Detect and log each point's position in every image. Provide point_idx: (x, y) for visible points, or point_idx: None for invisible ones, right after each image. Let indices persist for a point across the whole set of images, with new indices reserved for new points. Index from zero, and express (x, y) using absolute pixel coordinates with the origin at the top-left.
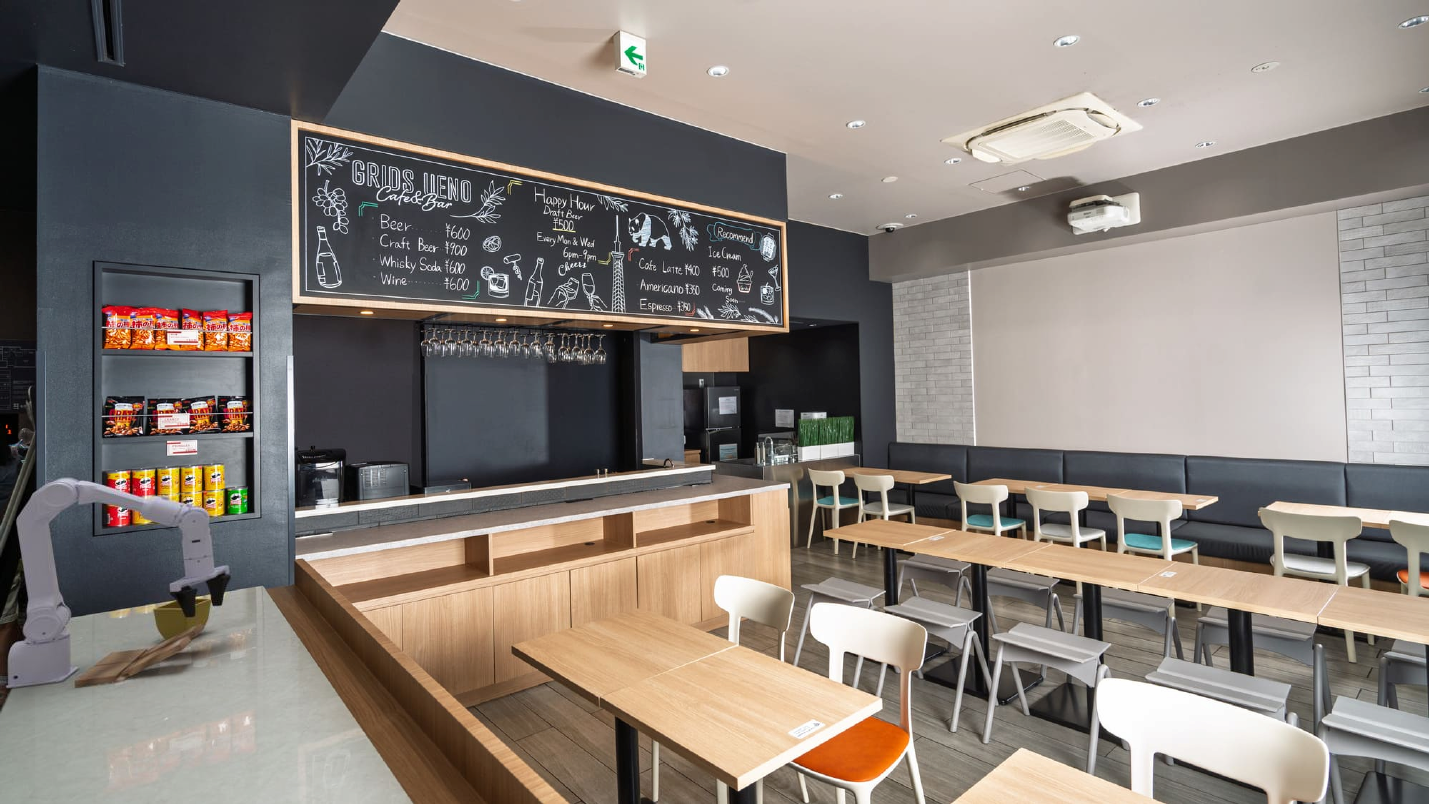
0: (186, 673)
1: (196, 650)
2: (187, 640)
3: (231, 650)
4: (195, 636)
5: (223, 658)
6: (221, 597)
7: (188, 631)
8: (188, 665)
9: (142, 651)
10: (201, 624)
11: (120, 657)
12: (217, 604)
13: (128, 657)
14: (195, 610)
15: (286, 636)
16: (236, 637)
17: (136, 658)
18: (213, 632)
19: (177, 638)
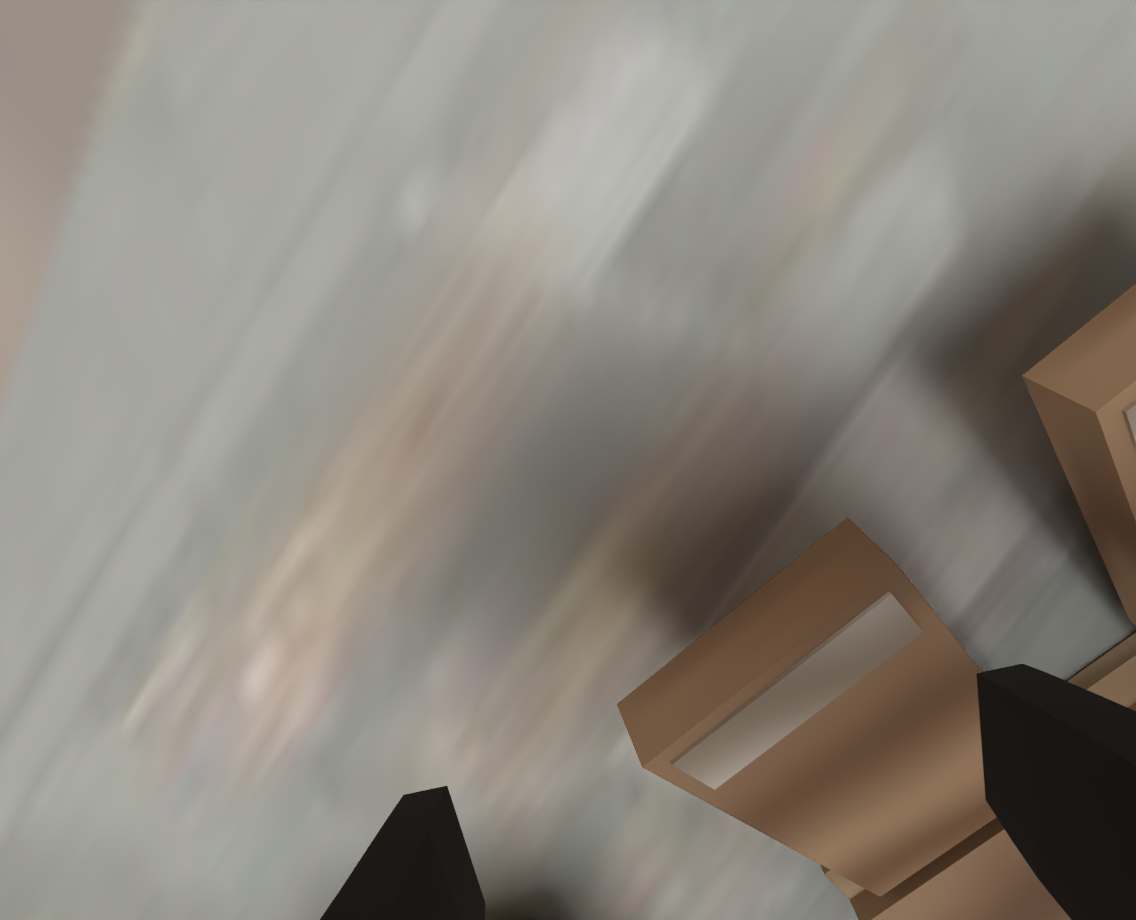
0: (1114, 121)
1: (658, 629)
2: (1132, 336)
3: (554, 333)
4: (852, 527)
5: (727, 185)
6: (382, 905)
7: (844, 681)
8: (949, 322)
9: (932, 891)
10: (650, 745)
11: None
12: (455, 851)
13: None
14: (1063, 716)
15: (86, 194)
16: (316, 625)
17: None
18: (322, 908)
19: (954, 655)
